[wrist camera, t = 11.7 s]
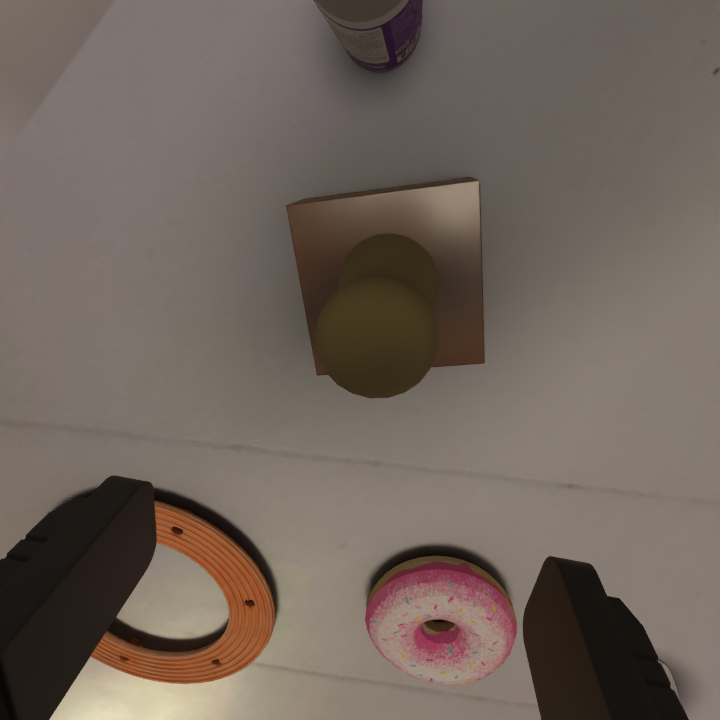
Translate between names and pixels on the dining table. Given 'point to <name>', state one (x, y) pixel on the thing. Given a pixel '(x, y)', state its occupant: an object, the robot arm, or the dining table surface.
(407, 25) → the container
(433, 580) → the donut
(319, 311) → the walnut block
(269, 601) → the ring
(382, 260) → the olive pawn
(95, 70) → the dining table surface
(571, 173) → the dining table surface
